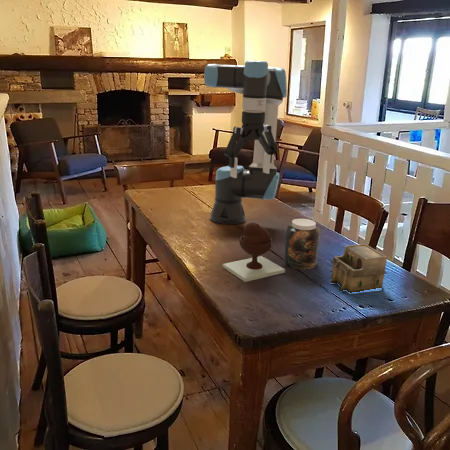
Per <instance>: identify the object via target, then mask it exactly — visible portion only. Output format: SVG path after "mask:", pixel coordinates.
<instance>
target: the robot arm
mask: <svg viewBox="0 0 450 450" xmlns="http://www.w3.org/2000/svg"><path fill="white" fill-rule="evenodd" d="M203 72H204V73H203V76H204V77H203V80H204V81H203V82H204V84H205V86H206V87H209V88H220V89H221V88H222V89H227V90H229V91H230V92H233V93H235V94H240V95H242V104H241V106H242V107H241V109H242V110H243V111H241V123H242V125H241V127H238V126H233V128H232V129H233V130H232V134H231V137H230V138H229V141H228V144H227V145H226V148H225V150H224V153H223V155H224V156H225V157H228V158H229V159H228V165H226V166H222V167H221V166H220V167H219V168H217V170H216V172H215V173H216V174H215V178H214V179H215V187H214V188H215V190H214V192H215V193H214V203H213V205H212V209H211V212H210V215H209V218H210V219H209V220H211V221H212V222H213V223H217V224H222V225H239V224H242V223H244V222H245V220H246V214H245V213H246V212H245V209H244V207H243V198H245V199H256V200H257V199H258V200H262V201H264V200H266V201H267V200H268V201H269V200H273V199H274V198H275V197H276V194H277V190H278V187H279V186H278V185H279V180H280V175H281V174H280V172H278V171H277V169H278V168H277V167H276V166H275V164H274V162H275V153H277V152H278V148H277V144H276V140H277V128H278V115H279V106H280V105H282V103H283V101H284V99H285V98H287V96H288V94H287V92H288V90H287V73H286V70H285V68H283V67H276V66H269V63H268V61H265V60H246V61H245V62H244V65H242V64H241V65H239V64H238V65H237V64H235V65H234V64H218V63H208V64H207V65H206V66H205V67H204V71H203ZM253 140H254V147H253V156H252V157H253V159H252V163H251V164H250V165H248V170H245V168H244V166H243V165H238V157H237V156H238V154H239V153H240V152H241V150H242V149H243V147H244V146H245V144H246V143H248V142H249V141H253Z"/></svg>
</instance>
